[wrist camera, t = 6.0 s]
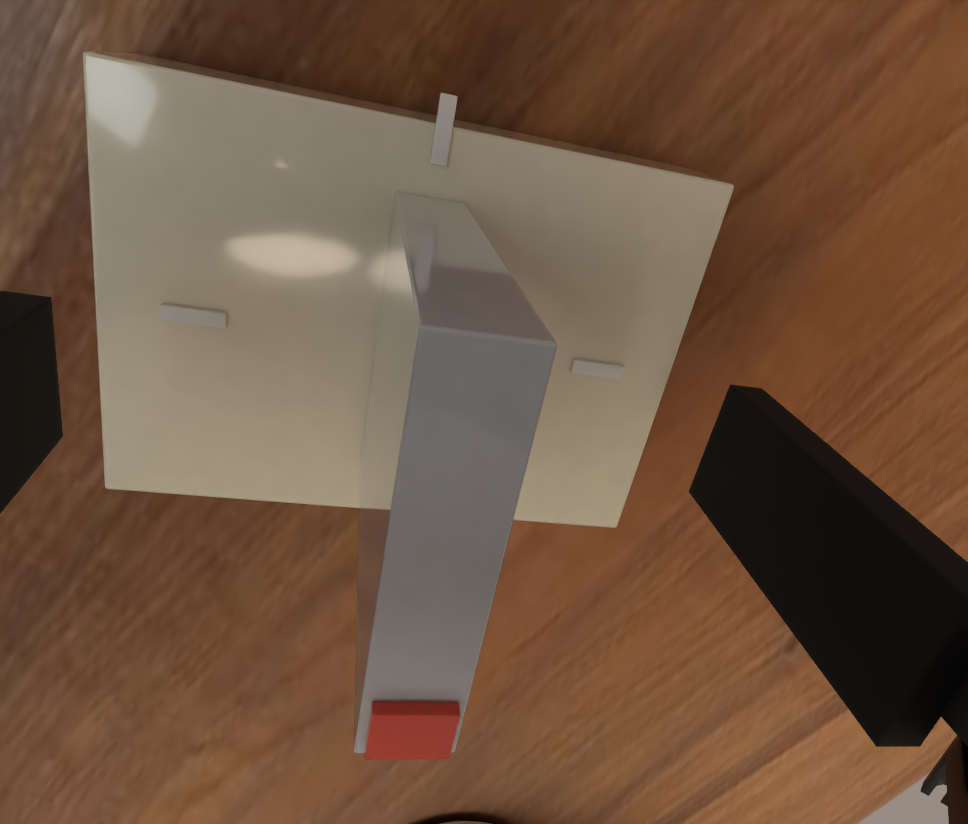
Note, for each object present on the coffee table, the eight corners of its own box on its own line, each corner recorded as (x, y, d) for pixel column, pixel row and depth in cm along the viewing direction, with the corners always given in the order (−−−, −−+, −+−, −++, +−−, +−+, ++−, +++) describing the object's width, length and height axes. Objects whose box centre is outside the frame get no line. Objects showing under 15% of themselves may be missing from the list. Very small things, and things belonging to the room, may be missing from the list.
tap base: (139, 450, 20) (102, 513, 17) (128, 22, 15) (75, 13, 12) (584, 489, 23) (613, 548, 20) (691, 143, 18) (749, 159, 16)
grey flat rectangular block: (394, 190, 15) (421, 334, 7) (466, 202, 15) (564, 351, 7) (359, 463, 18) (352, 770, 10) (420, 468, 18) (457, 768, 10)
